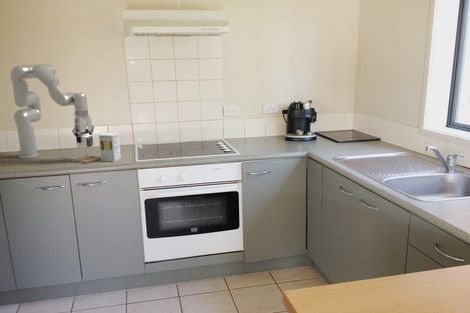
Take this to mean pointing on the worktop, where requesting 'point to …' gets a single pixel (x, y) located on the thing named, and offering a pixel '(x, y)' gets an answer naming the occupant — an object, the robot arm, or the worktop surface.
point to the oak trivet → (86, 159)
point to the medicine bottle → (85, 140)
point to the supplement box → (109, 147)
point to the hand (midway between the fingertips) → (84, 141)
